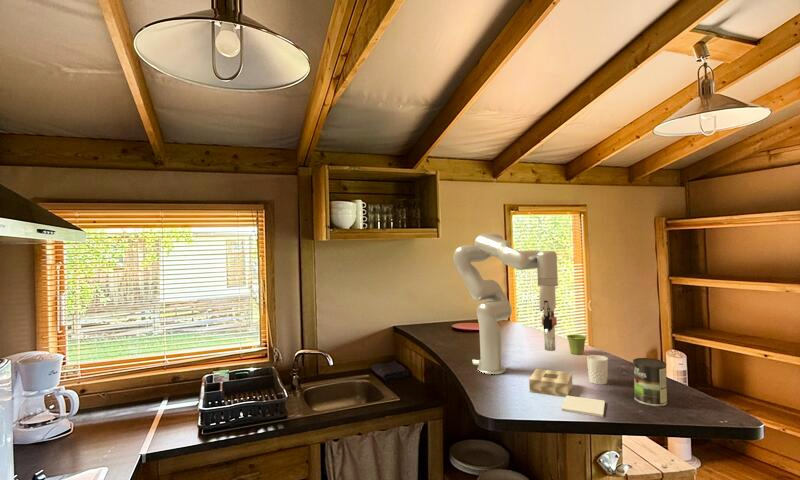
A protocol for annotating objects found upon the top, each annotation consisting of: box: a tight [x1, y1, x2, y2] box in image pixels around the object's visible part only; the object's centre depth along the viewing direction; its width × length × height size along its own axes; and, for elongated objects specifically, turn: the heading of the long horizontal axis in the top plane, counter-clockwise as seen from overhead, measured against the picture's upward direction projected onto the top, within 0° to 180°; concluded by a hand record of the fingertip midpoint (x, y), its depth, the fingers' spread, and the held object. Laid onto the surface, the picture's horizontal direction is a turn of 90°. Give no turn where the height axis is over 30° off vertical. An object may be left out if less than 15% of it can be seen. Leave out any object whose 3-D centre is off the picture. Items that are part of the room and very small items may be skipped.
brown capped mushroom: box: [541, 316, 558, 352], centre depth 165 cm, size 6×6×13 cm
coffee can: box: [632, 357, 668, 407], centre depth 150 cm, size 10×10×14 cm
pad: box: [560, 395, 606, 418], centre depth 147 cm, size 13×13×1 cm
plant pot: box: [566, 334, 587, 356], centre depth 213 cm, size 9×9×9 cm
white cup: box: [586, 354, 609, 386], centre depth 171 cm, size 8×8×10 cm
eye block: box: [528, 368, 573, 398], centre depth 166 cm, size 14×14×5 cm
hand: (549, 327), depth 165 cm, fingers closed on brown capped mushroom, 5 cm apart
